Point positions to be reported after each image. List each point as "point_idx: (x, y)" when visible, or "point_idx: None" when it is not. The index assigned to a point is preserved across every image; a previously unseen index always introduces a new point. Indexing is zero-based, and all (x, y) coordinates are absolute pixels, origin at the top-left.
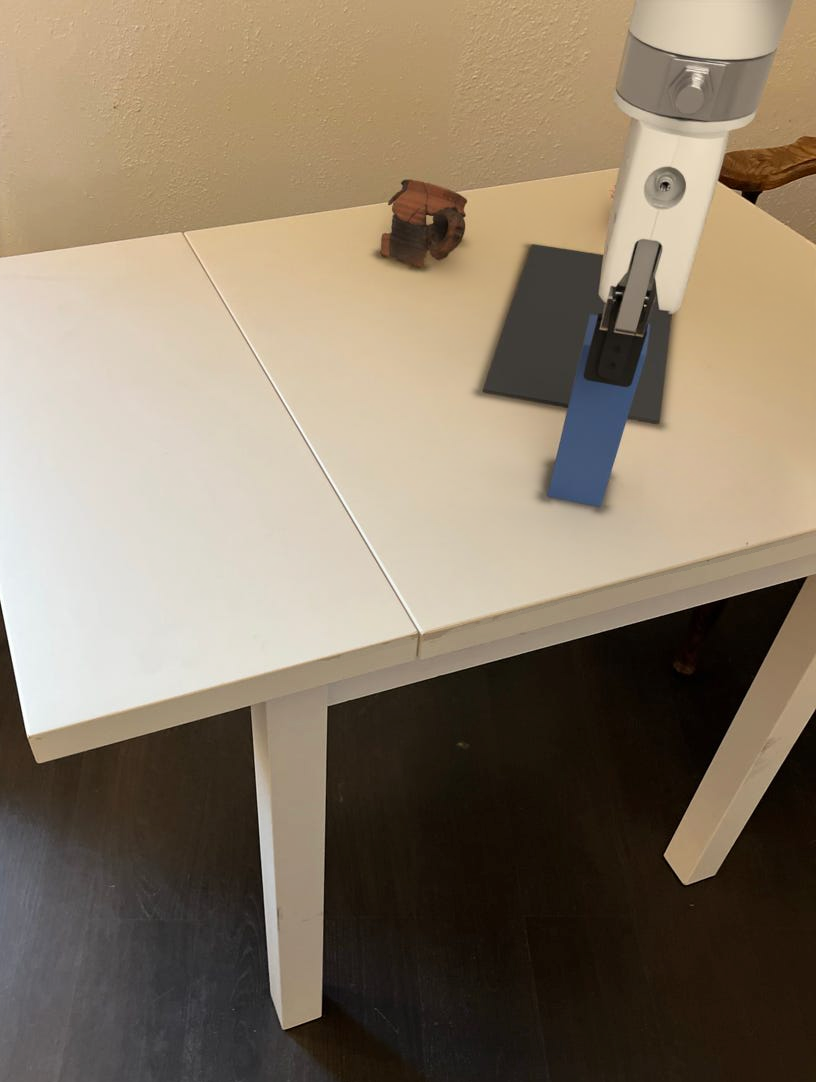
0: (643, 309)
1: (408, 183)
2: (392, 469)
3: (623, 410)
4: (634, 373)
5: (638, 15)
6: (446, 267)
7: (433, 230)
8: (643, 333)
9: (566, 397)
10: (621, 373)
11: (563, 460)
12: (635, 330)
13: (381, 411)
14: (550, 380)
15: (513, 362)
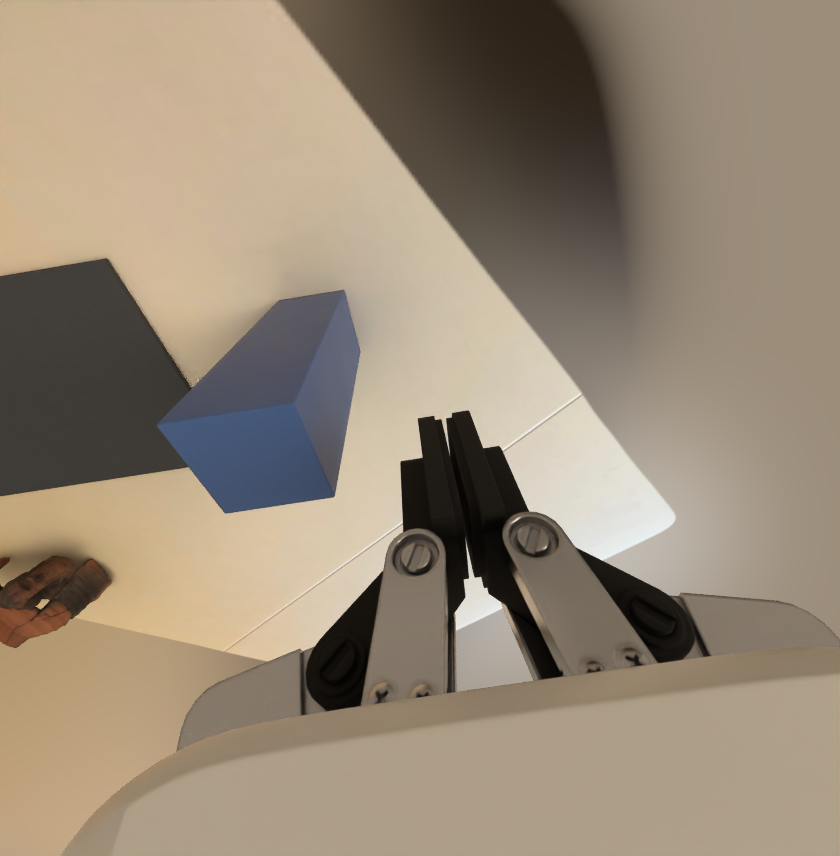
0: (668, 646)
1: (19, 644)
2: (396, 475)
3: (322, 353)
4: (473, 426)
5: None
6: (64, 546)
7: (48, 591)
8: (561, 529)
9: (172, 387)
10: (500, 451)
11: (353, 368)
12: (832, 632)
13: (327, 506)
14: (156, 412)
15: (162, 452)
